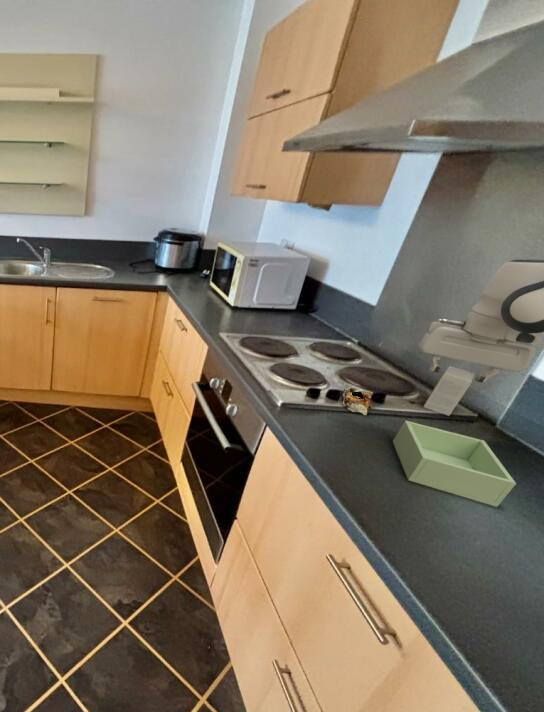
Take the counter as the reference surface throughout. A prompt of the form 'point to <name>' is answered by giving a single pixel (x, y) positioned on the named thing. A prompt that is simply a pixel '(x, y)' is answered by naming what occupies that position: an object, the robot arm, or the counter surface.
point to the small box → (449, 390)
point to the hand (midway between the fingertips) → (455, 376)
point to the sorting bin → (452, 463)
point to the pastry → (356, 400)
